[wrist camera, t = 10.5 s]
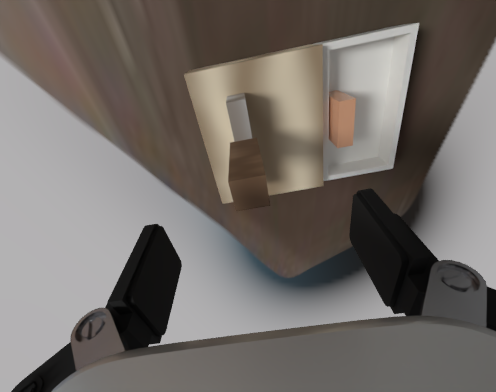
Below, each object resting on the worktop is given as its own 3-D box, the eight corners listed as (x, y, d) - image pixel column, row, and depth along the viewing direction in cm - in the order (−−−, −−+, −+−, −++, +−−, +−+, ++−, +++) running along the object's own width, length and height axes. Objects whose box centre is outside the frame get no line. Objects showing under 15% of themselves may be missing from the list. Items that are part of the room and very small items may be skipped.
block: (323, 92, 25) (337, 90, 25) (323, 133, 27) (336, 131, 27) (339, 101, 21) (356, 98, 21) (337, 148, 23) (352, 145, 23)
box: (398, 25, 22) (419, 22, 20) (379, 158, 30) (392, 168, 27) (312, 43, 23) (322, 43, 20) (315, 169, 30) (323, 181, 28)
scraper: (248, 91, 21) (257, 122, 13) (262, 177, 26) (275, 240, 18) (222, 96, 21) (214, 131, 13) (241, 181, 26) (244, 245, 18)
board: (309, 44, 23) (322, 44, 19) (313, 170, 30) (323, 185, 27) (191, 70, 23) (183, 74, 20) (224, 186, 31) (222, 203, 28)
